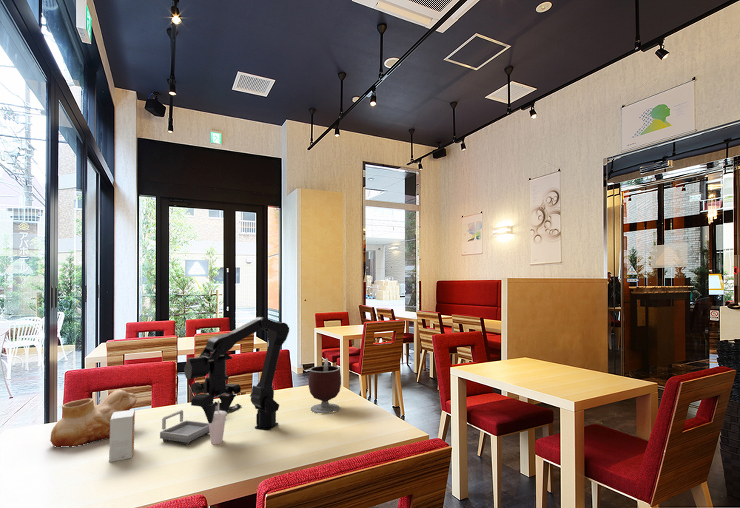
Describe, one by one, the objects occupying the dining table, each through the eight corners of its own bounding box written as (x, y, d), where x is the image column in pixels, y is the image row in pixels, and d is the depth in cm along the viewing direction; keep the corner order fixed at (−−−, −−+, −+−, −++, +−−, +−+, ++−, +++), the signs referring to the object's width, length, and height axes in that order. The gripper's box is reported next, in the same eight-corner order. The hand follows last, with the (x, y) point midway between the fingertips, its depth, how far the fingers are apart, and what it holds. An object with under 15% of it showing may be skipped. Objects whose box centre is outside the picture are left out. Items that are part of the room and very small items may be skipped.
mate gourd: (339, 414, 167) (339, 364, 169) (306, 414, 168) (305, 365, 169) (342, 402, 183) (342, 357, 184) (312, 403, 183) (311, 358, 184)
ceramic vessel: (142, 431, 152) (142, 390, 153) (54, 453, 133) (55, 406, 134) (129, 422, 162) (130, 384, 163) (46, 442, 142) (47, 398, 143)
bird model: (219, 438, 171) (235, 409, 184) (237, 424, 165) (252, 396, 178) (179, 410, 166) (199, 383, 180) (196, 395, 160) (215, 368, 173)
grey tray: (212, 433, 148) (212, 411, 149) (187, 446, 137) (187, 422, 138) (184, 429, 153) (184, 408, 153) (157, 441, 141) (158, 418, 142)
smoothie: (219, 446, 137) (220, 403, 138) (202, 445, 138) (203, 403, 139) (230, 439, 143) (230, 398, 144) (213, 438, 144) (214, 397, 145)
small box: (132, 458, 129) (133, 416, 129) (108, 462, 126) (109, 419, 127) (134, 448, 136) (135, 408, 137) (112, 452, 133) (112, 411, 134)
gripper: (216, 366, 153) (216, 409, 152) (178, 378, 136) (177, 426, 135) (241, 368, 150) (241, 412, 149) (205, 380, 132) (204, 430, 131)
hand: (216, 419), depth 141 cm, fingers closed on smoothie, 6 cm apart
